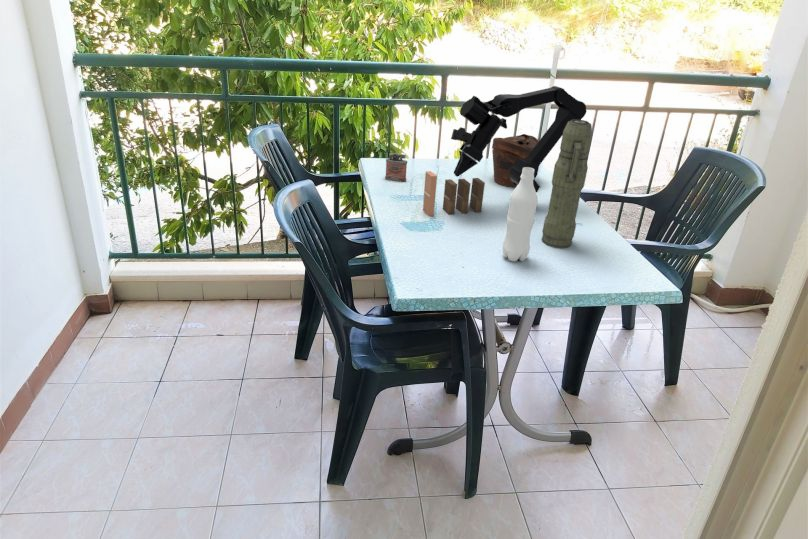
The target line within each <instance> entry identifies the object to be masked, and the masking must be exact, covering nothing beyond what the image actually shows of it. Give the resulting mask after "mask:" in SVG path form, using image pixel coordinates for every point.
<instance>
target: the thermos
mask: <svg viewBox="0 0 808 539" xmlns="http://www.w3.org/2000/svg"><path fill="white" fill-rule="evenodd" d="M592 137H593V126H592V123H590V122H589V121H587V120H584V119H581V120H571V121H568V123H567V125H566V127H565V129H564V131H563V135H562V137H561V142H560V147H559V149H560V152H559V154H558V158H557V160H556V161H555V163H554V168H553V171H552V172H553V173H552V178H551V184H552V187H551V188H552V189H551V194H550V200H549V203H548V204H549V206H548V209H547V214H546V216H545V217H544V218H545V219H544V222H543V227H542V235H541V243H543V244H545V245H546V246H547V247H548V246H549V247H552V248H557V249H566V248H569V247H571V246H572V244H573V238H574V237H575V234H576V232H575V231H576V228H577V224H576V223H577V222H576V217H577V213H578V209H579V208H578V207H579V203H580V197H581V193H582V190H583V189H584V187H585V185H586V184H585V183H586V178H587V173H588V158H589V157H588V154H589V152H590V149H591V148H590V147H591V144H592Z"/></svg>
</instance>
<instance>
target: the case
mask: <svg viewBox="0 0 808 539" xmlns="http://www.w3.org/2000/svg"><path fill="white" fill-rule="evenodd" d="M492 139H493V140H492V146H491V150H492V151H491V153H492V162H493V164H492V166H493V180H494V182H495V183H497V184H498V185H501V186H505V187H511V188H515V187H516V186H514V185H513V183H512V180H511V179H510V174H509V172H510V170H511V169H512V168H511V166H513V165H514V164H515V162H516V160H517V159H518V158H520V159H524V158H526V157H527V156H528V155H529V154H530V152H531V151H532V150H533V148H534V147H535V146H536V145H537V143H538V142H539V141H540V139H538V138H537V137H535V136H533V135H529V134H526V133H523V134H520V135H513V136H508V137H493V138H492Z"/></svg>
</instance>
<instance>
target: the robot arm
mask: <svg viewBox="0 0 808 539" xmlns="http://www.w3.org/2000/svg"><path fill="white" fill-rule="evenodd" d="M551 103H554V104H555V105H556V106H557V110H556V111H555V119H554V121H553V122H552V124H551V125H550V126H549V128H548V129H547V130H546V131H545V133H544V134H543V136H542V137H541V138H540V139H539V142H538V143H537V145H536V146H535V147H534V148H533V150H532V151H531V152H530V154H529V155H528V156H527V157H526V158H524V159H520V158H518V159H517V160H516V162H515V164H514V165H513V166H511V168H512V169H511V170H510V172H509V174H510V179H511V180H512V183H513V185H514V186H516V187H517V185H518V184H519V182H520V180H521V178H520V176H521V174H522V170H523V168H524V167H530V168H533V169H534V180H533V185H534V188H535V191H536V193H538V191H539V189H540V188H541V186H540V185H539V183H537V181H536V180H535V179H536V178H537V176H538V173H539V168H540V166H541V164H542V163H543V161H544V160H545V159H546V157H547V156H548V155H549V153H551V151H552V150H553V148H554V147H555V146H556V144H557V143H558V141H559V140H560V139H562V135H563V131H564V129H565V127H566V125H567V123H568V121H571V120H583V118H584V117H585V116H586V114H587V106H586V103H585V102H583V101H581V100H578V99H576V98H575V97H574V96H572V95H571V94H569V93H568V91H566V90H565V88H563V87H559V86H556V85H553V86H551V87H548V88H543V89H539V90H535V91H529V92H525V93H521V94H507V93H506V94H505V93H504V94H503V93H502V94H497V95H495V96H494V97H493V99H490V100H487V101H486V102H483V101H481V99H480V98H479V97H478V96H475V95H473V96H472V97H471V98H469V99H468V100H466V102H464V103H463V104H462V105H461V107H460V110H459V113H460V114H459V115H460V116H462V117H463V118H465V119H466V120H467V121H468V122H470V123H472V125H473V126H476V125H477V127H476V129H474V130H472V132H467V130H466V128H465V127H459V128H458V129H455V128H453V130H452V134H451V138H450V140H453V141H459V142H464V143H463V144H462V145H461V146H460V147H459V150H458V152H459V158H458V162H457V163H456V166H455V169H454V171H453V174H454V176H455V177H457V178H458V177H459V176H461V175H463V174H464V173H465V172H467V171H469V170H470V169H471V168H473V167H475V166H476V165H478V163H480V162H481V161H482V159H483V157H484V156H483V154H484V150H485V149H486V148H487V146H488V145H489V144H490V143H491V142H492V139H494V136H495V135H496V133H497V132H498V131H499V129H500V127H502V128H503V129H505V130H506V129H508V125H507V118H510V117H512V116H514V115H517V114H518V113H519V112H521V111H522V110H524V109H527V108H532V107H537V106H541V105H545V104H551ZM490 113H492V114H490ZM498 115H499V116H501V117H502V118H500V117H499V116H498ZM505 118H506V119H505ZM516 187H514V189H515V188H516Z"/></svg>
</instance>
